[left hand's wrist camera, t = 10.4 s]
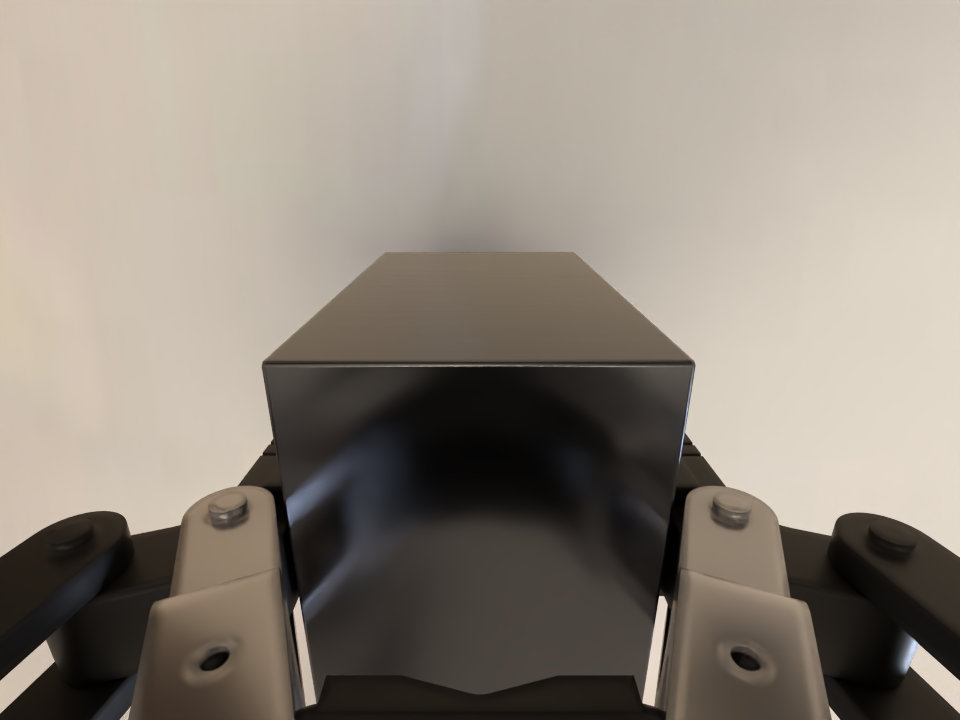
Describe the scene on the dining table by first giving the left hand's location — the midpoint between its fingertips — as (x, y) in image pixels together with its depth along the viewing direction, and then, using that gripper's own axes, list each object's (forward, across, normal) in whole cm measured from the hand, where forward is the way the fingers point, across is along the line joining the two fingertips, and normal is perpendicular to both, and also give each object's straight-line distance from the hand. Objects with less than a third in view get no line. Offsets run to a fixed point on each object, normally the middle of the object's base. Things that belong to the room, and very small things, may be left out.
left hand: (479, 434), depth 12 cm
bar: (+5, 0, +8) cm, 10 cm away
